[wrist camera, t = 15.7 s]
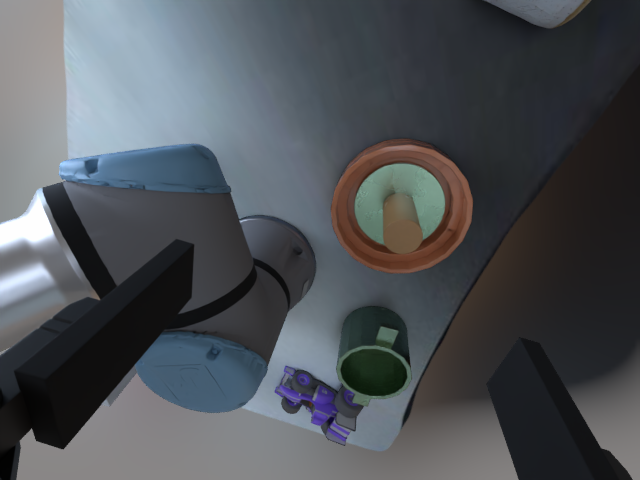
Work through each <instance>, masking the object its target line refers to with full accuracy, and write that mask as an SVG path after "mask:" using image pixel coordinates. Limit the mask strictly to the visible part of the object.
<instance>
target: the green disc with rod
mask: <svg viewBox="0 0 640 480" xmlns="http://www.w3.org/2000/svg"><path fill="white" fill-rule="evenodd" d="M444 212H445V195H444V191H443V189H442V186H441V185H440V183H439V181H438V180H437V179H436V177H435V176H434V175H433V174H432V173H431V172H429V171H428V170H426V169H425V168H423V167H421V166H418V165H415V164H412V163H403V162H399V163H392V164H387V165H384V166H382V167H380V168H378V169H376V170H374V171H373V172H372V173H370V174H369V175H368V176H367V177H366V178H365V179H364V180H363V182H362V183H361V185H360V186H359V188H358V190H357V193H356V196H355V201H354V213H355V218H356V220H357V223H358V225H359V227H360V228H361V230H362V231H363V232H364V233H365V234H366V235H367V236H368V237H369V238H370V239H372V240H374V241H375V242H377V243H379V244H382V245H385V246H386V247H387V248H388V249H389V250H391V251H392V252H394V253H398V254H407V253H410V252H413V251H414V250H416V249H417V248H418V247H419V246H420V244H421V242H422V241H423V240H424V239H426V238H427V237H429V236H430V235H431V234H432V233H433V232H434V231H435V230H436V229H437V227H438V226H439V224H440V222H441V220H442V218H443V215H444Z"/></svg>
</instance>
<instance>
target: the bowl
mask: <svg viewBox="0 0 640 480" xmlns="http://www.w3.org/2000/svg"><path fill="white" fill-rule="evenodd" d="M399 162H403V163H412V164H415V165H418V166H421V167H423V168H425V169H426V170H428V171H429V172H431V173H432V174H433V175H434V176H435V177H436V179H437V180H438V181H439V183H440V185H441V186H442V189H443V191H444V195H445V212H444V215H443V218H442V220H441V222H440V224H439V226H438V227H437V229H436V230H435V231H434V232H433V233H432V234H431V235H430V236H429V237H427V238H426V239H424V240H423V241H422V242H421V244H420V246H419V247H418V248H417V249H416V250H414V251H413V252H410V253H407V254H398V253H394V252H392V251H391V250H389V249H388V248H387V247H386V246H385V245H382V244H379V243H377V242H375V241H374V240H372V239H370V238H369V237H368V236H367V235H366V234H365V233H364V232H363V231H362V230H361V228H360V227H359V225H358V223H357V220H356V218H355V213H354V201H355V196H356V193H357V190H358V188H359V186H360V185H361V183H362V182H363V180H364V179H365V178H366V177H367V176H368V175H369V174H370V173H372V172H373V171H374V170H376V169H378V168H380V167H382V166H384V165H387V164H392V163H399ZM472 208H473V199H472V195H471V192H470V188H469V185H468V181H467V179H466V178H465V177H464V175H463V174H462V173H461V171H460V170H459V169H458V167H457V166H456V165H455V163H454V162H453V161H452V160H451V159H450V157H449V156H448V155H447V154H445V153H444V152H442V151H441V150H439V149H437V148H436V147H434V146H433V145H431V144H429V143H425V142H421V141H417V140H413V139H395V140H386V141H383V142H381V143H378V144H376V145H373V146H371V147H369V148H366V149H365V150H363V151H362V152H361V153H360V154H359V155H358V156H356V157H355V158H354V159H353V160H352V161H351V162H350V163H349V164H348V165H347V167H346V169H345V170H344V172H343V174H342V175H341V177H340V178H339V181H338V183H337V186H336V188H335V192H334V196H333V201H332V205H331V215H332V225H333V229H334V231H335V233H336V236H337V238H338V240H339V242H340V244H341V246H342V247H343V248H344V249H345V250H346V251H347V252H348V253H349V254H350V255H351V256H352V257H353V258H354V259H355V260H357V261H359V262H360V263H362V264H364V265H366V266H367V267H369V268H371V269H375V270H379V271H383V272H386V273H412V272H416V271H419V270H423V269H427V268H430V267H432V266H433V265H435V264H437V263H438V262H440V261H442V260H443V259H445V258H447V257H448V256H449V255H450V254H451V253H452V252H453V251H454V250H455V249H456V248H457V246H458V245H459V244H460V243H461V242H462V241H463V239H464V237H465V235H466V232H467V230H468V228H469V226H470V224H471V220H472Z"/></svg>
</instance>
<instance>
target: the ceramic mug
mask: <svg viewBox="0 0 640 480" xmlns="http://www.w3.org/2000/svg"><path fill="white" fill-rule="evenodd" d="M484 1H487V2H489V3H491V4H493V5H495V6H497V7H499V8H501V9H503V10H505V11H507V12H509V13H512V14H514V15H516V16H518V17H520V18H522V19H524V20H526V21H528V22H530V23H532V24H534V25H537V26H541V27H545V28H556V27H559V26H561V25H563V24H565V23H566V22H568V21H570V20H571V19H572V18H573V17H575V16H576V15H577V14H578V13H579V12H580V11H581V10H582V9H583V8H584V7H585V6H586V5H587V4H588V3H589V2H590V1H591V0H484Z"/></svg>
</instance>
